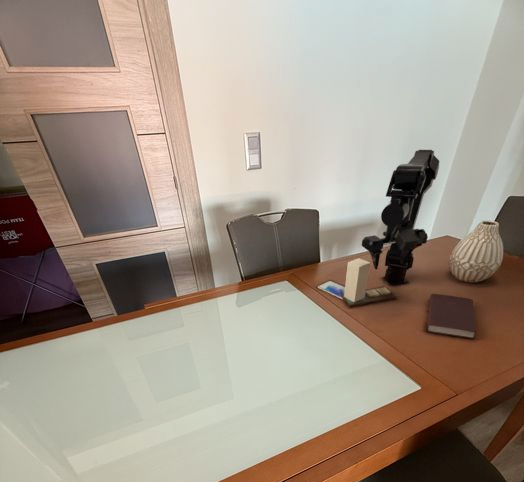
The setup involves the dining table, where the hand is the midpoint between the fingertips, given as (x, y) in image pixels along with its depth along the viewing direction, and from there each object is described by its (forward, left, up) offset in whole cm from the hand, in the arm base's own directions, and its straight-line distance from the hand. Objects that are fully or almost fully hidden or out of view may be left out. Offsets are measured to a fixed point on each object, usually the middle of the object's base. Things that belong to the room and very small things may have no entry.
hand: (388, 266), depth 97 cm
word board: (+3, -4, -13) cm, 14 cm away
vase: (-38, -5, -13) cm, 41 cm away
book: (-14, +16, -13) cm, 25 cm away
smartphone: (+11, -12, -14) cm, 21 cm away
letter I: (+8, -4, -12) cm, 15 cm away
